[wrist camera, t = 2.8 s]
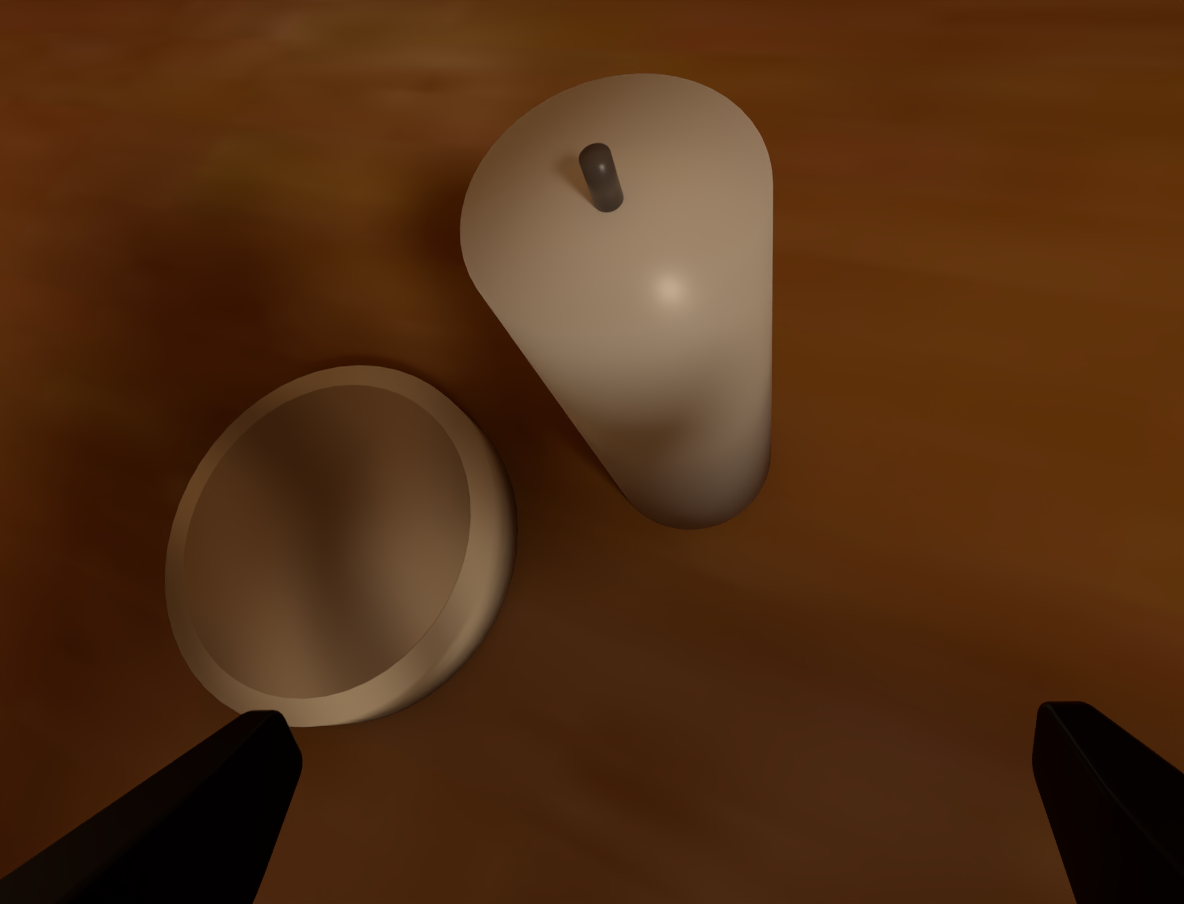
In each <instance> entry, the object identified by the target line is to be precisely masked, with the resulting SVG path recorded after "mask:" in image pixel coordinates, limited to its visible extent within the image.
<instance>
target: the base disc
mask: <svg viewBox="0 0 1184 904" xmlns="http://www.w3.org/2000/svg"><path fill="white" fill-rule="evenodd" d="M517 536H518V524H517V508H516V503H515V498H514V493H513V488H512V485H511V482H510V479H509V476H508V473H507V470H506V467H505V465H504V463H503V461H502V459H501V457H500V456H499V454H498V452H497V450H496V448H495V447H494V446H493V444H492V443H491V441H490V440H489V439H488V437H487V436H486V434H485V433H484V432H483V431H482V430H481V429H480V428H479V427H478V426H477V425H476V424H475V423H474V422H473V421H472V420H471V419H470V418H469V417H468V416H467V415H466V414H465V413H464V412H462V411H461V410H460V409H459V408H458V407H457V406H456V405H455V404H454V403H453V402H452V401H451V400H450V399H449V398H447V397H446V396H445V395H444V394H442V393H441V392H440V391H438V390H437V389H436V388H434V387H433V386H432V385H430V384H428V383H426V382H424V381H422V380H420V379H419V378H417V377H415V376H412V375H409V374H407V373H404V372H401V371H398V370H394V369H389V368H384V367H379V366H364V365H355V366H343V367H335V368H331V369H326V370H321V371H317V372H314V373H311V374H308V375H306V376H303V377H300V378H297V379H295V380H293V381H291V382H289V383H287V384H285V385H283V386H281V387H279V388H277V389H276V390H274V391H272V392H271V393H269V394H267V395H266V396H264V397H263V398H261V399H260V400H259V401H257V402H256V403H255V404H253V405H252V406H251V407H249V408H248V409H247V410H246V411H244V412H243V413H242V414H241V415H240V416H239V417H238V418H237V419H236V420H235V421H234V422H233V423H232V424H231V425H229V426H228V428H227V429H226V430H225V431H224V432H223V433H222V434H221V436H220V437H219V438H218V439H217V440H216V441H215V442H214V444H213V445H212V447H211V448H210V449H209V451H208V452H207V454H206V455H205V456H204V458H203V459H202V461H201V462H200V464H199V465H198V467H197V469H196V471H195V472H194V474H193V476H192V478H191V479H190V481H189V483H188V485H187V488H186V490H185V492H184V494H183V496H182V499H181V501H180V503H179V506H178V509H177V512H176V515H175V518H174V521H173V524H172V529H171V533H170V538H169V542H168V547H167V556H166V564H165V595H166V603H167V611H168V616H169V620H170V624H171V628H172V632H173V635H174V637H175V640H176V642H177V645H178V647H179V650H180V652H181V654H182V656H183V658H184V659H185V661H186V663H187V665H188V666H189V668H190V670H191V671H192V673H193V674H194V675H195V676H196V678H197V679H198V680H199V681H200V682H201V684H202V685H203V686H204V687H205V688H206V689H207V690H208V691H209V692H210V693H211V694H212V695H214V696H215V697H216V698H217V699H218V700H219V701H220V702H222V703H223V704H225V705H227V706H228V707H230V708H232V709H233V710H235V711H236V712H238V713H240V714H243V713H245V712H247V711H251V710H277V711H279V712H280V713H282V714H283V716H284V717H285V719H286V721H287V723H288V725H289V726H294V727H311V726H326V725H342V724H352V723H361V722H368V721H372V720H375V719H379V718H383V717H387V716H389V715H392V714H394V713H397V712H399V711H401V710H404V709H406V708H409V707H410V706H412V705H414V704H415V703H417V702H419V701H421V700H422V699H424V698H426V697H427V696H429V695H430V694H432V693H433V692H434V691H436V690H437V689H438V688H439V687H441V686H442V685H443V684H445V683H446V682H447V681H448V680H449V679H450V678H451V677H452V676H453V675H454V674H455V673H456V672H457V671H458V670H459V669H460V668H461V667H462V666H463V665H464V664H465V663H466V662H467V661H468V660H469V659H470V657H471V656H472V655H473V653H474V652H475V651H476V650H477V648H478V647H479V646H480V644H481V643H482V642H483V640H484V638H485V637H486V635H487V633H488V632H489V630H490V628H491V627H492V625H493V623H494V622H495V620H496V617H497V615H498V613H499V611H500V609H501V606H502V604H503V602H504V600H505V597H506V594H507V590H508V587H509V584H510V581H511V578H512V574H513V568H514V563H515V558H516V551H517Z"/></svg>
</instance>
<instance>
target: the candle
mask: <svg viewBox="0 0 1184 904" xmlns="http://www.w3.org/2000/svg"><path fill="white" fill-rule="evenodd" d="M460 241H461V248H462V254H463V259H464V262H465V265H466V268H467V270H468V273H469V276H470V277H471V279H472V281H473V283H474V285H475V286H476V288H477V290H478V291H479V293H480V294H481V295H482V297H483V298H484V300H485V301H486V302H487V304H488V305H489V307H490V308H491V309H492V311H493V312H494V314H495V315H496V316H497V318H498V319H499V321H500V322H501V323H502V325H503V326H504V328H505V329H506V330H507V332H508V333H509V335H510V336H511V337H512V339H513V340H514V342H515V343H516V344H517V346H518V347H519V349H520V350H521V351H522V353H523V354H524V355H525V357H526V358H527V360H528V361H529V362H530V364H531V365H532V367H533V368H534V369H535V371H536V372H537V374H538V375H539V376H540V378H541V379H542V381H543V382H544V383H545V385H546V386H547V388H548V389H549V390H550V392H551V393H552V395H553V396H554V397H555V399H556V400H557V402H558V403H559V404H560V406H561V407H562V409H563V410H564V411H565V413H566V414H567V416H568V417H569V418H570V420H571V421H572V423H573V424H574V425H575V427H576V428H577V429H578V431H579V432H580V434H581V435H582V436H583V438H584V439H585V441H586V442H587V443H588V445H589V446H590V448H591V449H592V450H593V452H594V453H595V455H596V456H597V457H598V459H599V460H600V462H601V463H602V464H603V466H604V467H605V469H606V470H607V471H608V473H609V474H610V476H611V477H612V478H613V480H614V481H615V483H616V484H617V485H618V487H619V488H620V490H621V491H622V492H623V494H624V495H625V497H626V498H627V499H628V500H629V502H630V503H631V504H632V505H633V506H634V507H635V508H636V509H637V510H638V511H639V512H640V513H642V514H643V515H644V516H646V517H647V518H649V519H651V520H653V521H654V522H656V523H659V524H662V525H664V526H668V527H672V528H676V529H685V530H690V529H703V528H708V527H712V526H715V525H719V524H721V523H723V522H726V521H728V520H730V519H731V518H733V517H735V516H736V515H738V514H739V513H740V512H742V511H743V510H744V509H745V508H746V507H747V506H748V505H749V504H750V503H751V502H752V501H753V500H754V499H755V497H756V496H757V495H758V493H759V492H760V490H761V488H762V487H763V485H764V483H765V480H766V477H767V475H768V471H769V467H770V460H771V389H772V251H773V180H772V168H771V164H770V159H769V155H768V151H767V149H766V147H765V144H764V142H763V139H762V137H761V135H760V134H759V132H758V131H757V129H756V127H755V126H754V124H753V123H752V121H751V120H750V119H749V118H748V117H747V116H746V115H745V113H744V112H743V111H742V110H741V109H740V108H739V107H737V106H736V105H735V104H734V103H733V102H731V101H730V100H729V99H728V98H726V97H725V96H723V95H721V94H720V93H718V92H716V91H715V90H713V89H711V88H709V87H706V86H704V85H701V84H699V83H697V82H694V81H690V80H687V79H683V78H680V77H674V76H668V75H661V74H642V73H640V74H625V75H617V76H611V77H605V78H601V79H597V80H593V81H590V82H586V83H583V84H580V85H578V86H575V87H572V88H570V89H567V90H565V91H563V92H561V93H559V94H557V95H555V96H553V97H551V98H549V99H547V100H545V101H544V102H542V103H541V104H539V105H537V106H536V107H534V108H533V109H531V110H530V111H529V112H527V113H526V114H525V115H523V116H522V117H521V118H519V119H518V120H517V121H516V122H515V123H514V124H513V125H511V126H510V127H509V128H508V129H507V130H506V131H505V132H504V133H503V134H502V135H501V136H500V137H499V139H498V140H497V141H496V142H495V143H494V144H493V146H492V147H491V148H490V149H489V151H488V152H487V154H486V155H485V157H484V158H483V159H482V161H481V162H480V164H479V166H478V168H477V170H476V172H475V174H474V175H473V177H472V180H471V182H470V185H469V187H468V190H467V192H466V196H465V200H464V204H463V208H462V213H461V222H460Z"/></svg>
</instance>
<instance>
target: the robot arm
mask: <svg viewBox="0 0 1184 904" xmlns="http://www.w3.org/2000/svg"><path fill="white" fill-rule="evenodd" d="M1032 766H1033V772H1034V777H1035V780H1036V784H1037V787H1038V790H1039V793H1040V796H1041V799H1042V802H1043V805H1044V808H1045V811H1046V813H1047V816H1048V819H1049V822H1050V825H1051V828H1052V831H1053V834H1054V837H1055V840H1056V843H1057V846H1058V849H1059V852H1060V855H1061V858H1062V861H1063V864H1064V867H1065V870H1066V873H1067V876H1068V879H1069V882H1070V885H1071V888H1072V891H1073V894H1074V897H1075V900H1076V903H1077V904H1184V773H1182V772H1181V771H1180V770H1178V769H1177V768H1175V767H1174V766H1173V765H1171V764H1170V763H1169V762H1167V761H1166V760H1165V759H1163V758H1162V757H1161V756H1159V755H1158V754H1157V753H1155V752H1154V751H1153V750H1151V749H1150V748H1148V747H1147V746H1146V745H1144V744H1143V743H1142V742H1140V741H1139V740H1138V739H1136V738H1135V737H1134V736H1132V735H1131V734H1130V733H1128V732H1127V731H1126V730H1124V729H1123V728H1121V727H1120V726H1119V725H1117V724H1116V723H1115V722H1113V721H1112V720H1111V719H1109V718H1108V717H1107V716H1105V715H1104V714H1103V713H1101V712H1100V711H1098V710H1097V709H1096V708H1094V707H1093V706H1091V705H1089V704H1087V703H1085V702H1081V701H1048V702H1044V703H1042V704H1041V705H1040V707H1039V709H1038V713H1037V720H1036V728H1035V737H1034V745H1033V753H1032ZM301 770H302V754H301V751H300V749H299V747H298V744H297V742H296V740H295V738H294V736H293V734H292V732H291V730H290V728H289V725H288V723H287V721H286V719H285V717H284V716H283V714H282V713H280V712H279V711H277V710H251V711H247V712H245V713H243V714H242V715H240V716H239V717H237V718H236V719H234V720H233V721H232V722H230V723H229V724H227V725H226V726H224V727H223V728H221V729H220V730H218V731H217V732H215V733H214V734H213V735H211V736H210V737H208V738H207V739H205V740H204V741H202V742H201V743H199V744H198V745H196V746H195V747H194V748H192V749H191V750H189V751H188V752H186V753H185V754H183V755H182V756H180V757H179V758H177V759H176V760H175V761H173V762H172V763H170V764H169V765H167V766H166V767H164V768H163V769H161V770H160V771H158V772H157V773H156V774H154V775H153V776H151V777H150V778H148V779H147V780H145V781H144V782H142V783H141V784H139V785H138V786H137V787H135V788H134V789H132V790H131V791H129V792H128V793H126V794H125V795H123V796H122V797H121V798H119V799H118V800H116V801H115V802H113V803H112V804H110V805H109V806H107V807H106V808H104V809H103V810H102V811H100V812H99V813H97V814H96V815H94V816H93V817H91V818H90V819H88V820H87V821H85V822H84V823H83V824H81V825H80V826H78V827H77V828H75V829H74V830H72V831H71V832H69V833H68V834H66V835H65V836H64V837H62V838H61V839H59V840H58V841H56V842H55V843H53V844H52V845H50V846H49V847H47V848H46V849H45V850H43V851H42V852H40V853H39V854H37V855H36V856H34V857H33V858H31V859H30V860H28V861H27V862H26V863H24V864H23V865H21V866H20V867H18V868H17V869H15V870H14V871H12V872H11V873H10V874H8V875H7V876H5V877H4V878H2V879H1V880H0V904H253V901H254V899H255V897H256V894H257V892H258V889H259V887H260V884H261V882H262V879H263V877H264V874H265V871H266V869H267V866H268V863H269V860H270V858H271V855H272V852H273V849H274V847H275V844H276V841H277V838H278V835H279V833H280V830H281V827H282V824H283V822H284V819H285V816H286V813H287V811H288V808H289V805H290V802H291V800H292V797H293V794H294V791H295V788H296V786H297V783H298V780H299V777H300V774H301Z"/></svg>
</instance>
